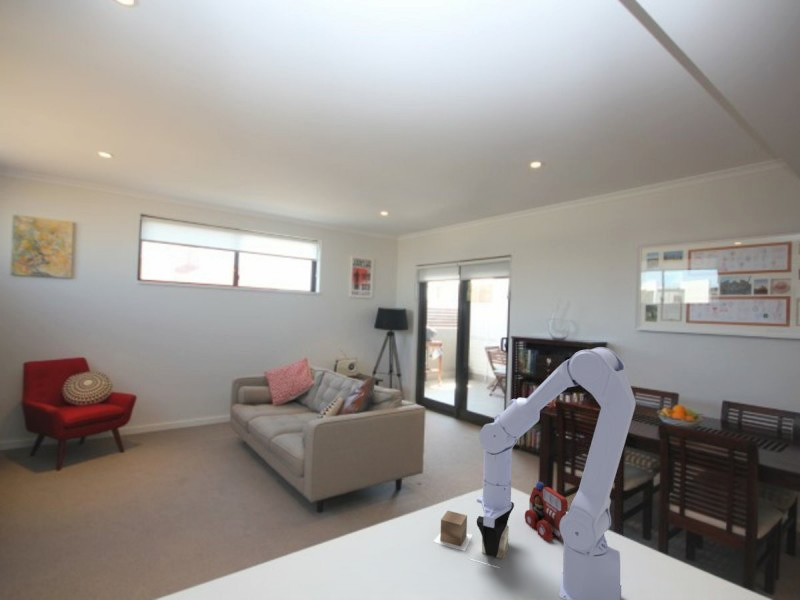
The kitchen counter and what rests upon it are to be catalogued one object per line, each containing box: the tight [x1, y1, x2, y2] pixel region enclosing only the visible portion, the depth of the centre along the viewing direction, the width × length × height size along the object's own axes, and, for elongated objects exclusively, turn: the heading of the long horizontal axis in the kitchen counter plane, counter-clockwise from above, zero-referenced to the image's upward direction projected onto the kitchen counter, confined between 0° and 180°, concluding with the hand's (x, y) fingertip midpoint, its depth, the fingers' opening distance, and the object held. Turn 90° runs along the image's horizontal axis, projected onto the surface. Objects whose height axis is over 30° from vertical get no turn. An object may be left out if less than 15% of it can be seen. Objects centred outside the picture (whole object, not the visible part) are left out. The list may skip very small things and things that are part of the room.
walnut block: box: [440, 510, 468, 546], centre depth 90 cm, size 4×4×4 cm
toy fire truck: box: [524, 481, 569, 542], centre depth 95 cm, size 7×12×10 cm, turn 15°
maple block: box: [481, 525, 510, 560], centre depth 86 cm, size 4×4×4 cm
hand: (495, 545), depth 86 cm, fingers open, 7 cm apart
